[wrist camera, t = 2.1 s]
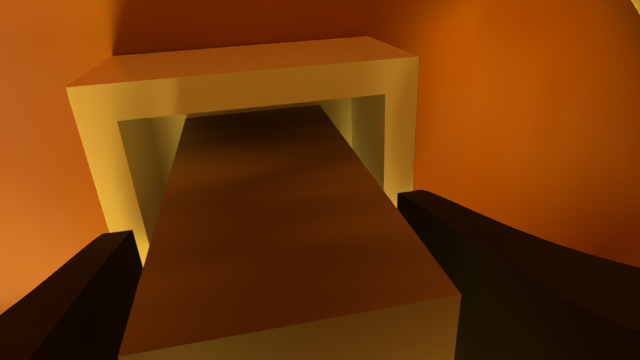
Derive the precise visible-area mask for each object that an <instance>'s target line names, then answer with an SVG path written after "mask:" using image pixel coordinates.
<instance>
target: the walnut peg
mask: <svg viewBox="0 0 640 360" xmlns="http://www.w3.org/2000/svg"><path fill="white" fill-rule="evenodd" d="M460 303H461V293H460V292H459V291H458V289H457V288H456V287H455V285H454V284H453V283H452V281H451V280H450V279H449V277H448V276H447V275H446V273H445V272H444V271H443V269H442V268H441V267H440V265H439V264H438V263H437V261H436V260H435V259H434V257H433V256H432V255H431V253H430V252H429V251H428V249H427V248H426V247H425V245H424V244H423V243H422V241H421V240H420V239H419V237H418V236H417V235H416V233H415V232H414V231H413V229H412V228H411V227H410V225H409V224H408V223H407V221H406V220H405V219H404V217H403V216H402V214H401V213H400V212H399V210H398V209H397V208H396V206H395V205H394V204H393V202H392V201H391V200H390V198H389V197H388V196H387V194H386V193H385V192H384V190H383V189H382V188H381V186H380V185H379V184H378V182H377V181H376V180H375V178H374V177H373V176H372V174H371V173H370V172H369V170H368V169H367V168H366V166H365V165H364V164H363V162H362V161H361V160H360V158H359V157H358V156H357V154H356V153H355V152H354V150H353V149H352V148H351V146H350V145H349V144H348V142H347V141H346V139H345V138H344V137H343V135H342V134H341V133H340V131H339V130H338V129H337V127H336V126H335V125H334V123H333V122H332V121H331V119H330V118H329V117H328V115H327V114H326V113H325V111H324V110H323V109H322V107H321V106H320V105H311V106H301V107H292V108H282V109H272V110H262V111H252V112H243V113H233V114H223V115H213V116H203V117H194V118H186V119H185V122H184V126H183V130H182V133H181V137H180V140H179V144H178V147H177V151H176V154H175V158H174V161H173V165H172V168H171V172H170V175H169V179H168V182H167V186H166V189H165V193H164V196H163V200H162V203H161V207H160V210H159V214H158V217H157V221H156V224H155V228H154V231H153V235H152V238H151V242H150V245H149V249H148V252H147V256H146V259H145V263H144V266H143V270H142V273H141V277H140V280H139V284H138V287H137V291H136V294H135V298H134V302H133V305H132V309H131V312H130V316H129V319H128V323H127V326H126V330H125V333H124V337H123V340H122V344H121V347H120V351H119V354H118V359H119V360H454V354H455V346H456V337H457V329H458V320H459V311H460Z"/></svg>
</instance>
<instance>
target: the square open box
mask: <svg viewBox="0 0 640 360" xmlns="http://www.w3.org/2000/svg"><path fill="white" fill-rule="evenodd" d="M418 69H419V56H417V55H414V54H412V53H409V52H407V51H404V50H402V49H399V48H397V47H394V46H392V45H389V44H387V43H384V42H382V41H379V40H377V39H374V38H372V37H369V36H362V37H349V38H336V39H323V40H311V41H298V42H285V43H272V44H260V45H247V46H234V47H221V48H209V49H196V50H183V51H170V52H157V53H145V54H132V55H119V56H111V57H110V58H108V59H107V60H105V61H104V62H102V63H101V64H99V65H98V66H96V67H95V68H93V69H92V70H90V71H89V72H87V73H86V74H85V75H83V76H82V77H80V78H79V79H77V80H76V81H74V82H73V83H71V84H70V85H68V86H67V87H66V91H67V94H68V97H69V101H70V104H71V107H72V110H73V114H74V117H75V120H76V124H77V127H78V130H79V133H80V137H81V140H82V143H83V147H84V150H85V153H86V157H87V160H88V163H89V166H90V170H91V173H92V176H93V180H94V183H95V186H96V190H97V193H98V196H99V199H100V203H101V206H102V209H103V213H104V216H105V219H106V223H107V226H108V229H109V232H110V233H112V232H119V231H126V230H133V233H134V237H135V240H136V244H137V247H138V251H139V255H140V258H141V262H142V266H144V263H145V259H146V256H147V252H148V249H149V245H150V242H151V238H152V235H153V231H154V228H155V224H156V221H157V217H158V214H159V210H160V207H161V203H162V200H163V196H164V193H165V189H166V186H167V182H168V179H169V175H170V172H171V168H172V165H173V161H174V158H175V154H176V151H177V147H178V144H179V140H180V137H181V133H182V130H183V126H184V122H185V119H186V118H194V117H203V116H213V115H223V114H233V113H243V112H252V111H262V110H272V109H282V108H292V107H301V106H311V105H320V106H321V107H322V109H323V110H324V111H325V113H326V114H327V115H328V117H329V118H330V119H331V121H332V122H333V123H334V125H335V126H336V127H337V129H338V130H339V131H340V133H341V134H342V135H343V137H344V138H345V139H346V141H347V142H348V144H349V145H350V146H351V148H352V149H353V150H354V152H355V153H356V154H357V156H358V157H359V158H360V160H361V161H362V162H363V164H364V165H365V166H366V168H367V169H368V170H369V172H370V173H371V174H372V176H373V177H374V178H375V180H376V181H377V182H378V184H379V185H380V186H381V188H382V189H383V190H384V192H385V193H386V194H387V196H388V197H389V198H390V200H391V201H392V202H393V204H394V205H395V206H396V208H397V193H402V192H409V191H413V173H414V152H415V132H416V111H417V90H418Z"/></svg>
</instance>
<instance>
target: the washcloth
mask: <svg viewBox="0 0 640 360" xmlns="http://www.w3.org/2000/svg"><path fill="white" fill-rule="evenodd" d="M631 1H632V3H633V4H634V6H635V8H636V9H637V11H638V13H639V14H640V0H631Z"/></svg>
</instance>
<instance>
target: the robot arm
mask: <svg viewBox="0 0 640 360" xmlns="http://www.w3.org/2000/svg"><path fill="white" fill-rule="evenodd" d="M397 209H398V210H399V212H400V213H401V214H402V216H403V217H404V219H405V220H406V221H407V223H408V224H409V225H410V227H411V228H412V229H413V231H414V232H415V233H416V235H417V236H418V237H419V239H420V240H421V241H422V243H423V244H424V245H425V247H426V248H427V249H428V251H429V252H430V253H431V255H432V256H433V257H434V259H435V260H436V261H437V263H438V264H439V265H440V267H441V268H442V269H443V271H444V272H445V273H446V275H447V276H448V277H449V279H450V280H451V281H452V283H453V284H454V285H455V287H456V288H457V289H458V291H459V292H460V293H461V303H460V311H459V320H458V329H457V337H456V346H455V354H454V360H640V268H639V267H635V266H631V265H626V264H622V263H618V262H615V261H611V260H607V259H604V258H600V257H597V256H593V255H590V254H587V253H584V252H580V251H577V250H574V249H571V248H567V247H564V246H561V245H558V244H555V243H552V242H549V241H546V240H544V239H541V238H538V237H536V236H533V235H531V234H528V233H525V232H523V231H520V230H517V229H515V228H512V227H510V226H508V225H505V224H503V223H500V222H498V221H496V220H493V219H491V218H489V217H486V216H484V215H482V214H479V213H477V212H475V211H473V210H470V209H468V208H466V207H464V206H461V205H459V204H457V203H455V202H452V201H450V200H448V199H446V198H443V197H441V196H438V195H436V194H433V193H431V192H428V191H425V190H416V191H409V192H402V193H397ZM142 270H143V266H142V262H141V258H140V255H139V251H138V247H137V244H136V240H135V237H134V233H133V230H126V231H119V232H112V233H105V234H102V235H100V236H99V237H97V238H96V239H95V240H93V241H92V242H91V243H89V244H88V245H87V246H86V247H84V248H83V249H82V250H81V251H79V252H78V253H77V254H76V255H75V256H73V257H72V258H71V259H70V260H69V261H68V262H66V263H65V264H64V265H63V266H62V267H60V268H59V269H58V270H57V271H55V272H54V273H53V274H52V275H51V276H49V277H48V278H47V279H46V280H45V281H43V282H42V283H41V284H40V285H38V286H37V287H36V288H35V289H34V290H32V291H31V292H30V293H29V294H27V295H26V296H25V297H23V298H22V299H21V300H19V301H18V302H17V303H15V304H14V305H13V306H12V307H10V308H9V309H8V310H6V311H5V312H4V313H2V314H1V315H0V360H119V359H118V354H119V351H120V347H121V344H122V340H123V337H124V333H125V330H126V326H127V323H128V319H129V316H130V312H131V309H132V305H133V302H134V298H135V294H136V291H137V287H138V284H139V280H140V277H141V273H142Z"/></svg>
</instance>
